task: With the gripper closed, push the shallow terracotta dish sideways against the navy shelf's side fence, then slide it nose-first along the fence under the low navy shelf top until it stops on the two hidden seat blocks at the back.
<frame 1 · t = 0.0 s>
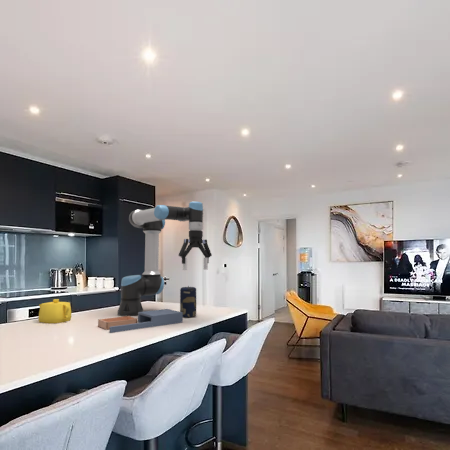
hand: (195, 269, 186), 28 cm above the counter, fingers open, 13 cm apart
dish: (117, 326, 176), on the counter
shelf: (160, 322, 185), on the counter
canister: (188, 316, 204), on the counter
teapot: (53, 321, 190), on the counter
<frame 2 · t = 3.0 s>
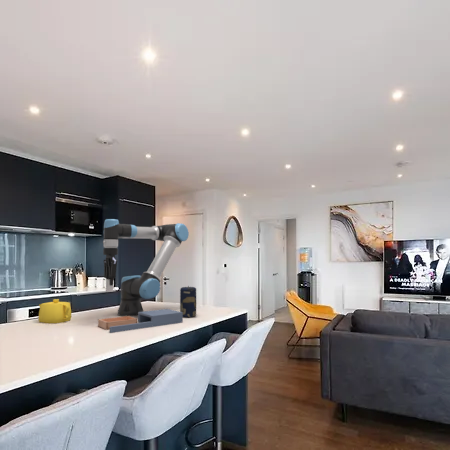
hand: (109, 291, 187), 16 cm above the counter, fingers open, 2 cm apart
nothing on the counter moved.
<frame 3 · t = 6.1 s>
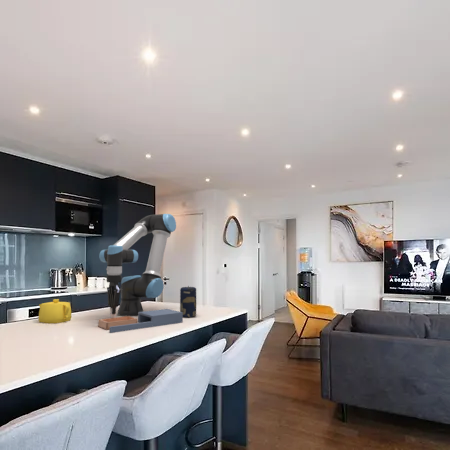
hand: (112, 320, 180), 2 cm above the counter, fingers closed
dish: (118, 326, 176), on the counter, touching gripper
everything else where it was.
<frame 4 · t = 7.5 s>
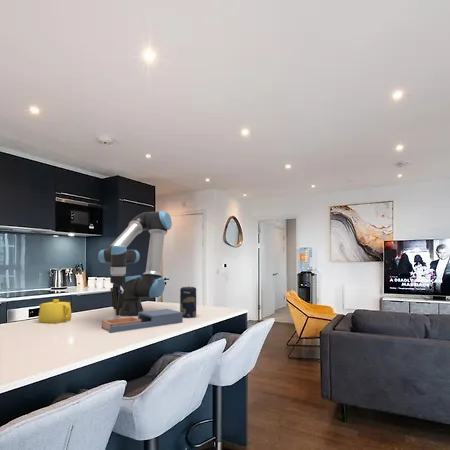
hand: (116, 321, 177), 2 cm above the counter, fingers closed
dish: (122, 327, 172), on the counter, touching gripper
everything else where it was.
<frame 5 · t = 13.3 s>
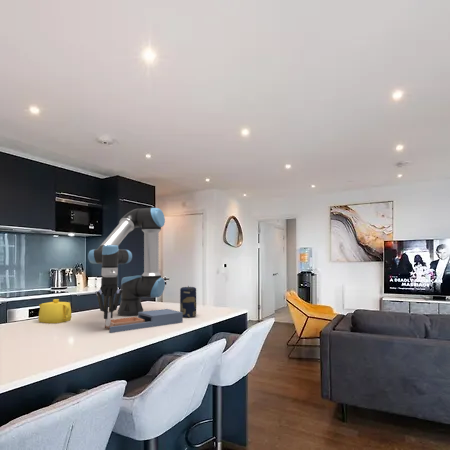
hand: (107, 325, 168), 2 cm above the counter, fingers closed
dish: (124, 327, 173), on the counter, touching gripper
everything else where it was.
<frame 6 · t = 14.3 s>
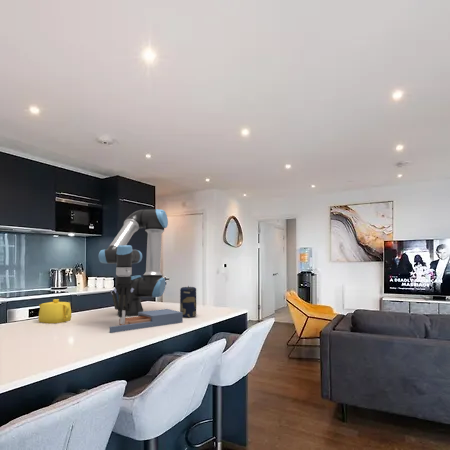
hand: (122, 323, 173), 2 cm above the counter, fingers closed
dish: (138, 325, 178), on the counter, touching gripper
everything else where it was.
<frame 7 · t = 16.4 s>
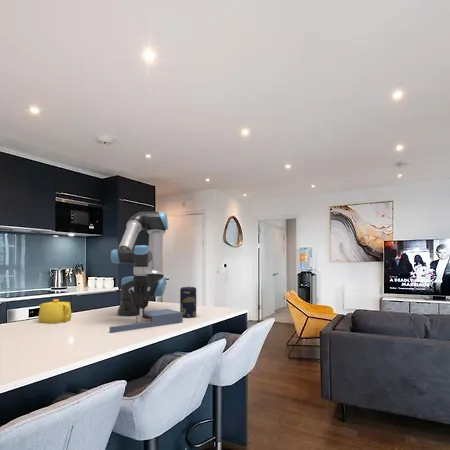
hand: (139, 321, 179), 2 cm above the counter, fingers closed
dish: (154, 323, 184), on the counter, touching gripper
everything else where it was.
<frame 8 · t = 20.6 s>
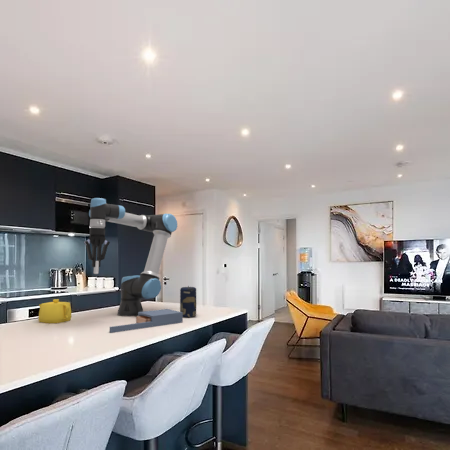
hand: (96, 273, 179), 26 cm above the counter, fingers closed
dish: (154, 323, 184), on the counter
everything else where it was.
at the end: dish 1.0 cm from the target spot, on the counter; dish tilted 0° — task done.
